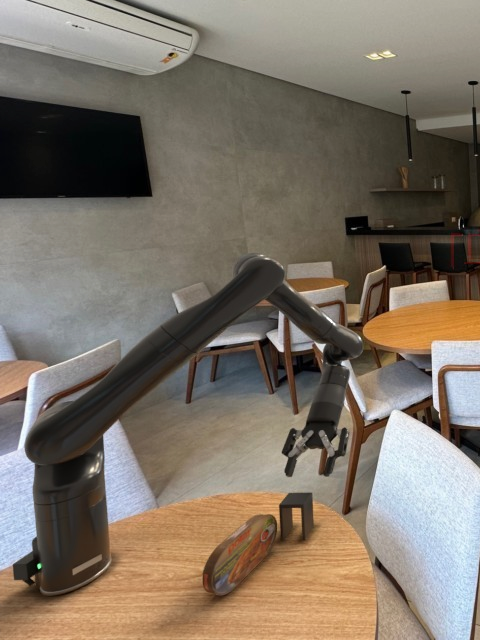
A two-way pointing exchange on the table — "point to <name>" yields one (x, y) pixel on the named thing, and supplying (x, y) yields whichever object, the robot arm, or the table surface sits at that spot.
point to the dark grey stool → (306, 507)
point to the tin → (239, 554)
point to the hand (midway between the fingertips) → (307, 476)
